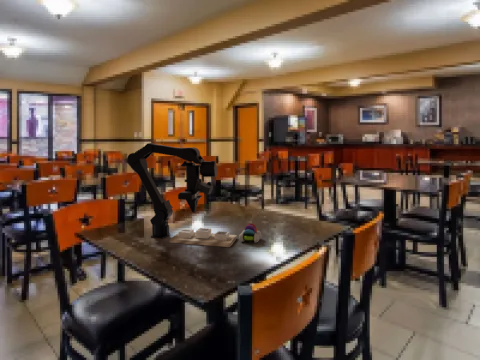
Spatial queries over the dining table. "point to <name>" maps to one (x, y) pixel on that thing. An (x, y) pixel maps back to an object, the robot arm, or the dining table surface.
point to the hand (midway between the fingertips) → (193, 212)
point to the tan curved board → (204, 240)
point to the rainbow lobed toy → (250, 233)
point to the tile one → (186, 233)
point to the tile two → (203, 233)
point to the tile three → (222, 236)
